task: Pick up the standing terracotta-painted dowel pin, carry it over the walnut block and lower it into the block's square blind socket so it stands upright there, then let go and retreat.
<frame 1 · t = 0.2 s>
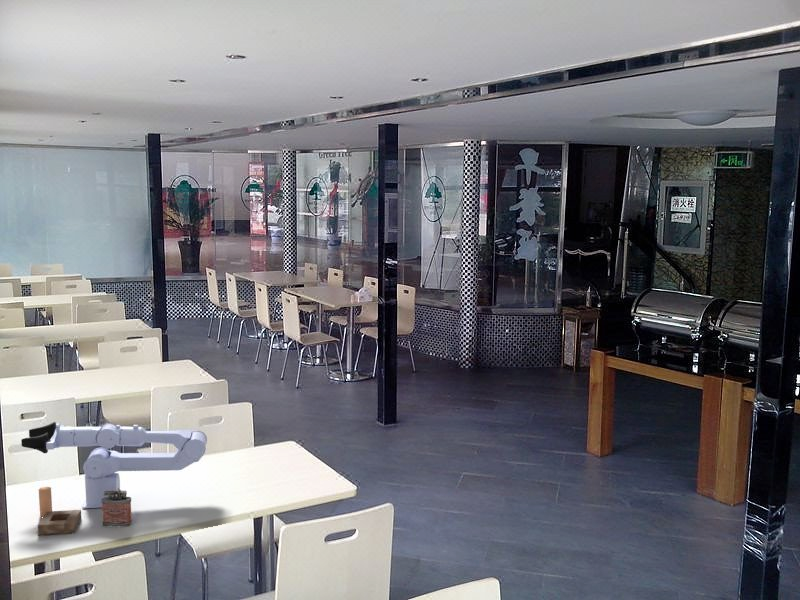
hand: (25, 437, 220), 21 cm above the table, tool horizontal, fingers open, 7 cm apart
hole block: (60, 527, 210), on the table
lighter: (117, 524, 212), on the table
pin: (46, 515, 217), on the table
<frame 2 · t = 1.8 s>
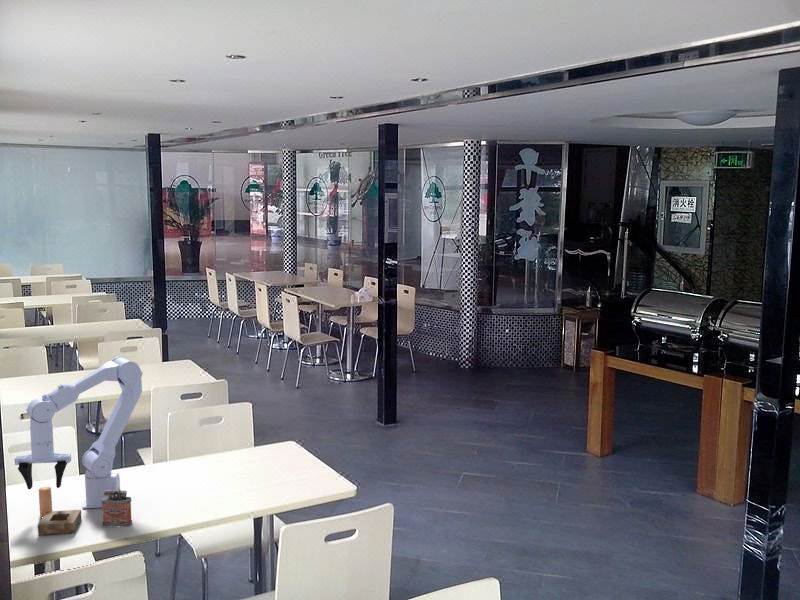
hand: (44, 487, 216), 8 cm above the table, tool pointing down, fingers open, 7 cm apart
nothing on the table moved.
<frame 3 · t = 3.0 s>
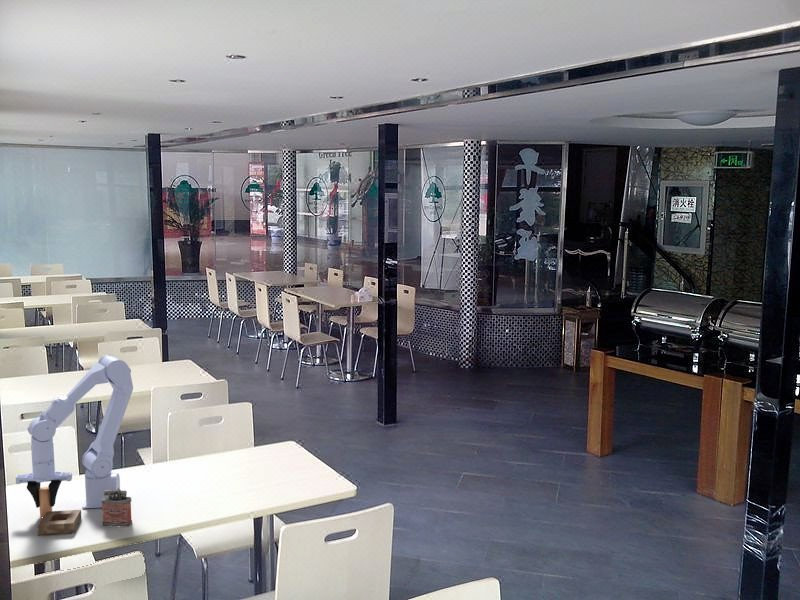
hand: (45, 505, 217), 3 cm above the table, tool pointing down, fingers closed on pin, 3 cm apart
pin: (46, 515, 217), on the table, touching gripper
everything else where it was.
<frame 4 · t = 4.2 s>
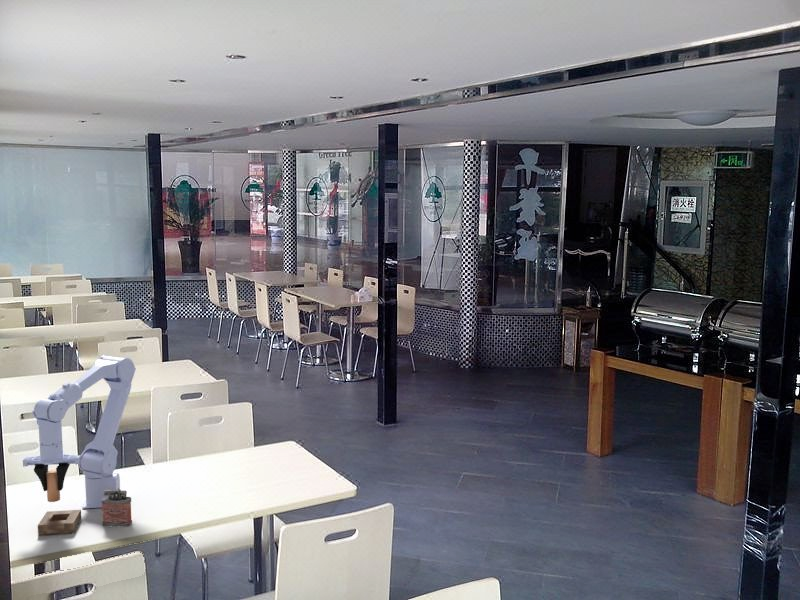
hand: (53, 489, 211), 10 cm above the table, tool pointing down, fingers closed on pin, 3 cm apart
pin: (53, 499, 211), point 7 cm above the table, touching gripper
everything else where it was.
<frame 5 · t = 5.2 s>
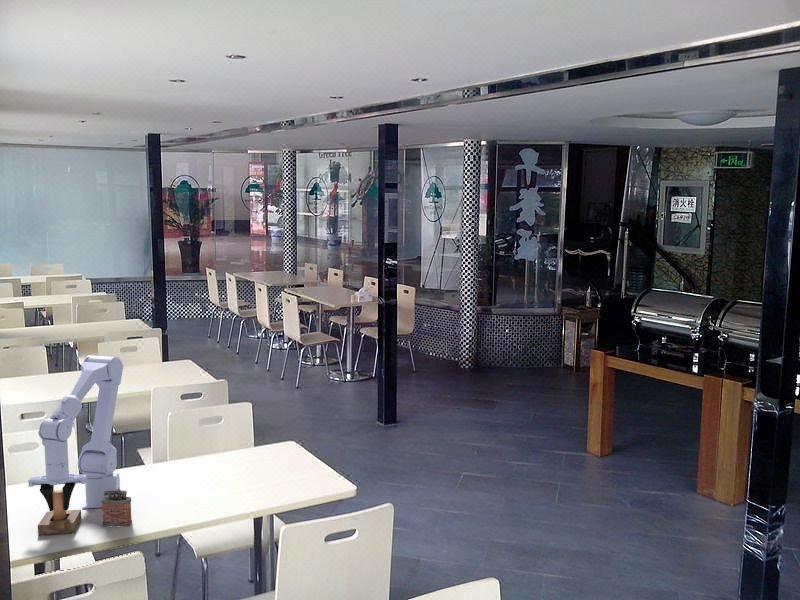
hand: (59, 509, 209), 5 cm above the table, tool pointing down, fingers closed on pin, 3 cm apart
pin: (59, 519, 209), point 2 cm above the table, touching gripper
everything else where it was.
when the fingers open (4 cm above the table, at t = 5.8 s): pin stays where it is, resting on hole block.
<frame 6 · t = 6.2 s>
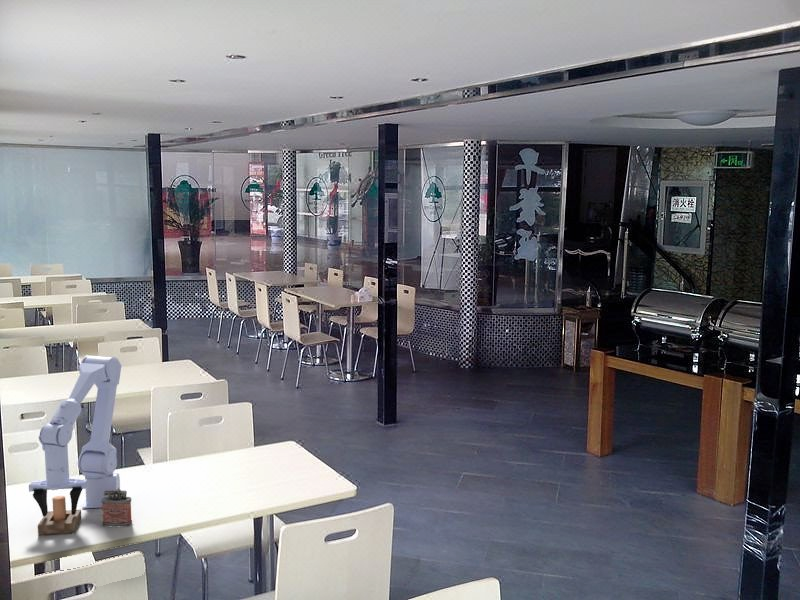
hand: (59, 514, 209), 4 cm above the table, tool pointing down, fingers open, 7 cm apart
pin: (60, 525, 210), point 1 cm above the table, touching hole block
everything else where it was.
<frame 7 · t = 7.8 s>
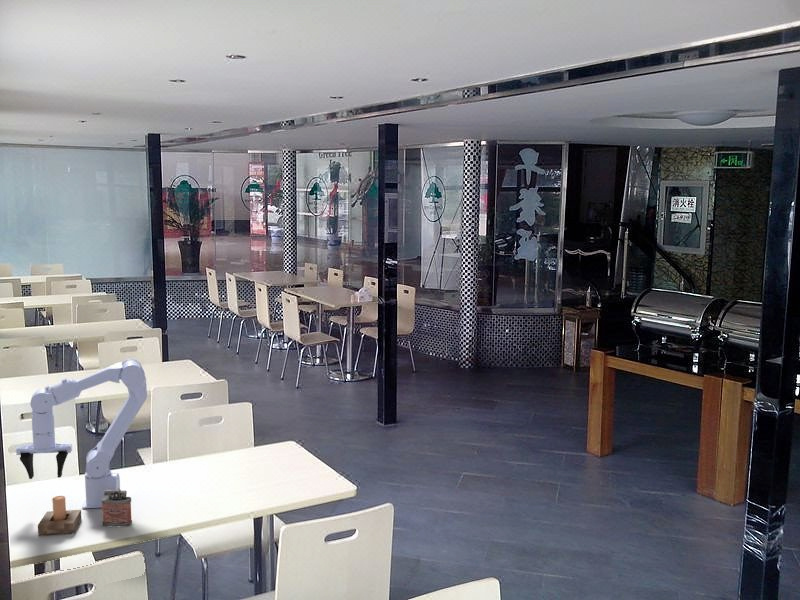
hand: (45, 477, 220), 10 cm above the table, tool pointing down, fingers open, 7 cm apart
nothing on the table moved.
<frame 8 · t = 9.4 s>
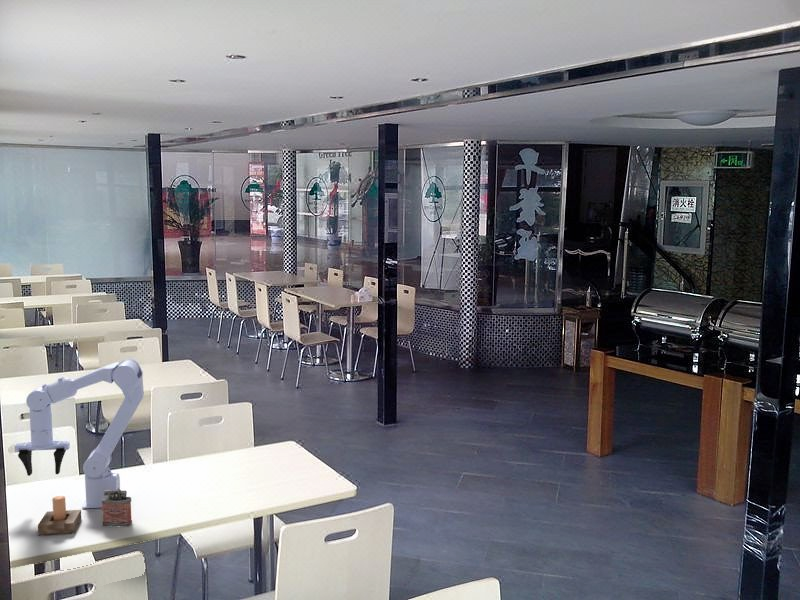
hand: (43, 473, 222), 10 cm above the table, tool pointing down, fingers open, 7 cm apart
nothing on the table moved.
at the end: pin 0.1 cm off-centre on the hole block, point 0.5 cm above the hole block's base; pin tilted 0°; the gripper is holding nothing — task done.
